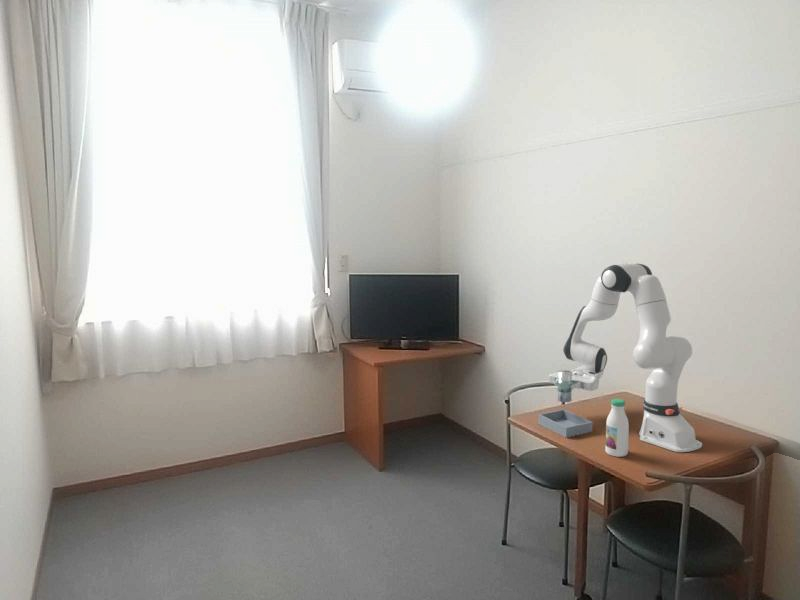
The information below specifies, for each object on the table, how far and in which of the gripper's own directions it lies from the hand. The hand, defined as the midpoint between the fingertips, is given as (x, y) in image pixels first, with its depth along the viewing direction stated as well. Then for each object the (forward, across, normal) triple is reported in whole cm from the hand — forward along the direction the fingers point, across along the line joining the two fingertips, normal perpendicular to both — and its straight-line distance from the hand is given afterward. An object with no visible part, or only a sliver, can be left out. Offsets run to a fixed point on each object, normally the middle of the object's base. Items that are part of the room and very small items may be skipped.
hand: (563, 385), depth 230 cm
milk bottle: (+14, +28, +17) cm, 36 cm away
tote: (+4, +2, +17) cm, 17 cm away
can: (-1, 0, +6) cm, 7 cm away
